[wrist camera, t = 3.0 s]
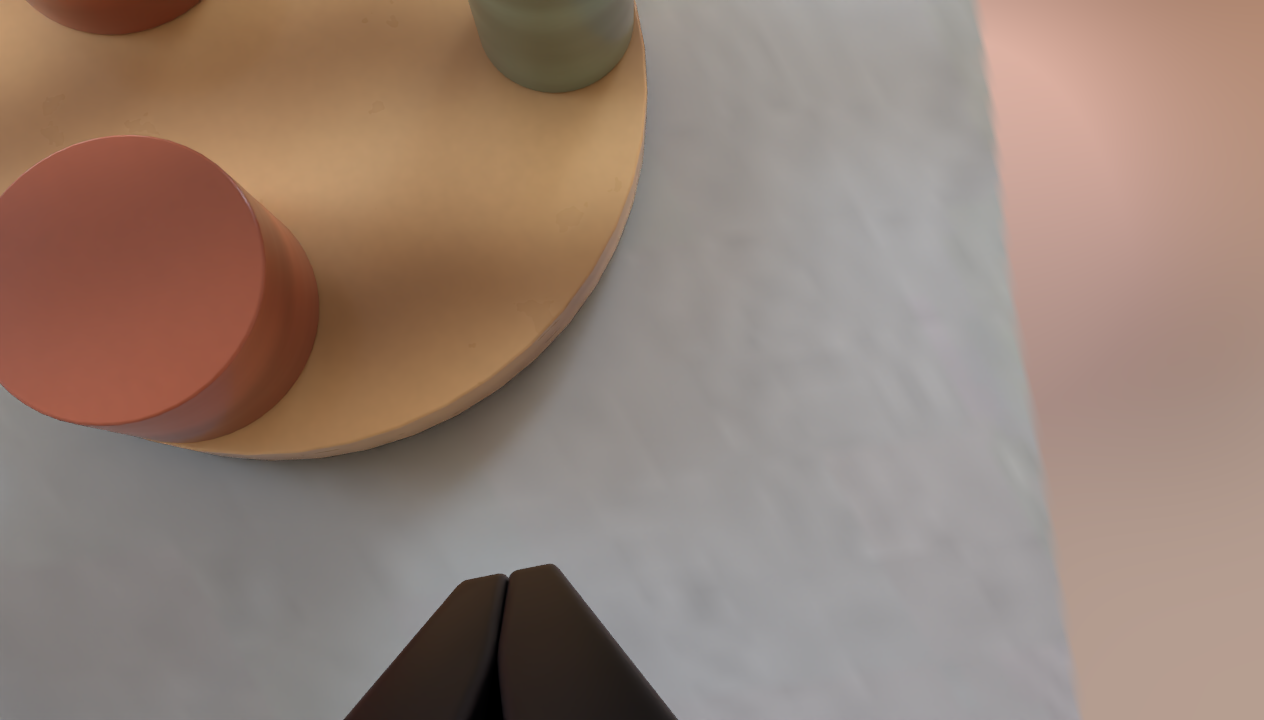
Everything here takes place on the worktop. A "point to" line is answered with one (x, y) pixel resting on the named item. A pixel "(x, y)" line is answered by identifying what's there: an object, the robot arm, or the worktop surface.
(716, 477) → the worktop surface
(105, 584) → the worktop surface
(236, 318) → the wooden disc stand
